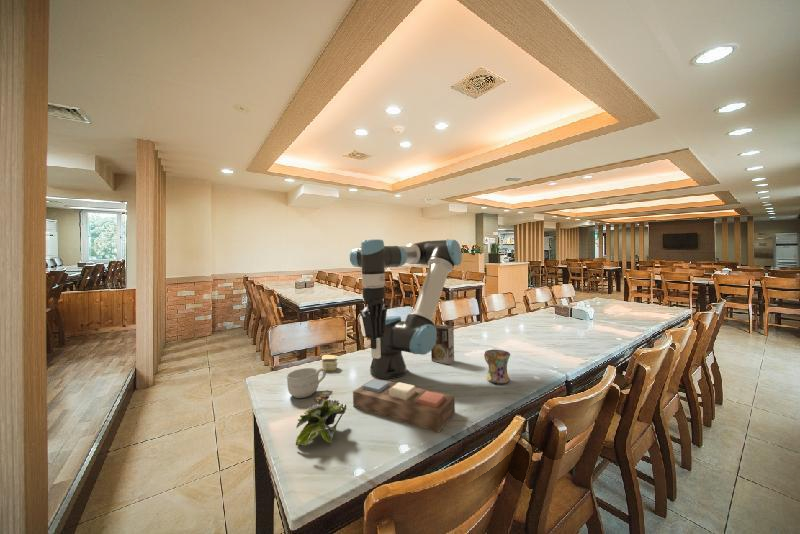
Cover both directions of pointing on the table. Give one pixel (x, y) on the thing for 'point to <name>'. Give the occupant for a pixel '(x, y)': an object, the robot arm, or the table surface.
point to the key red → (431, 399)
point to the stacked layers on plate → (329, 362)
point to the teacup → (304, 381)
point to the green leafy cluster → (319, 420)
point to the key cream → (402, 391)
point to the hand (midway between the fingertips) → (376, 357)
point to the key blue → (376, 386)
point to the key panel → (405, 407)
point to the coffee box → (443, 345)
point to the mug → (497, 365)
